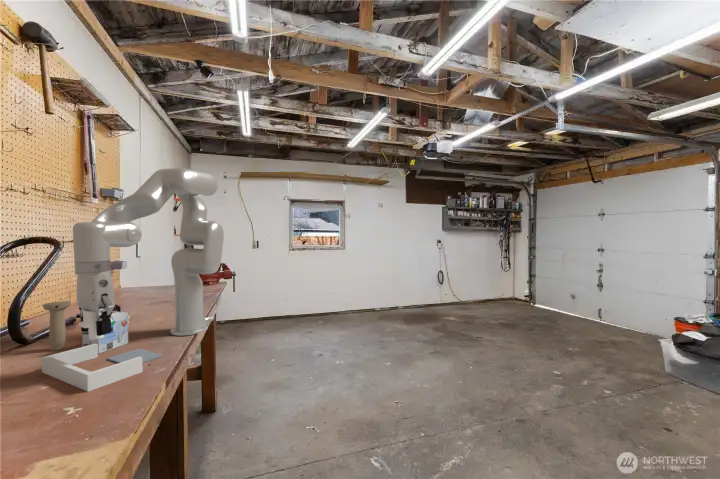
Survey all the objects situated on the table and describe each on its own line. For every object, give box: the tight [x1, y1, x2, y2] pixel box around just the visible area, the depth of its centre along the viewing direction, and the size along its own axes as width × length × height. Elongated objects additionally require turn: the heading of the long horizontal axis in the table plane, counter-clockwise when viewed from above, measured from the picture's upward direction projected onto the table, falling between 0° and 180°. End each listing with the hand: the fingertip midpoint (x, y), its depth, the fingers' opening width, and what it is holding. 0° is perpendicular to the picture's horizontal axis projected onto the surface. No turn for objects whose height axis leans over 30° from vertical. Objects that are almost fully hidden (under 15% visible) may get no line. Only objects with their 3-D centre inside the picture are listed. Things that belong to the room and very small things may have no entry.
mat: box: [106, 348, 163, 364], centre depth 98 cm, size 9×12×1 cm
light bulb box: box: [81, 310, 129, 355], centre depth 107 cm, size 11×7×11 cm, turn 168°
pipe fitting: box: [78, 307, 112, 340], centre depth 89 cm, size 6×7×8 cm
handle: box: [42, 300, 71, 352], centre depth 105 cm, size 5×6×15 cm
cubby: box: [41, 344, 143, 393], centre depth 88 cm, size 12×24×4 cm, turn 63°
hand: (96, 331), depth 89 cm, fingers closed on pipe fitting, 7 cm apart
